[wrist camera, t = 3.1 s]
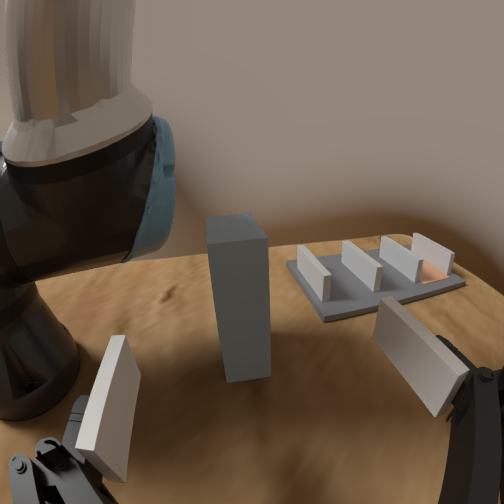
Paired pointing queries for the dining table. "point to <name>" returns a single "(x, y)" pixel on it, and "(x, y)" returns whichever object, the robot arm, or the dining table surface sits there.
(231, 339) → the tall grey pillar
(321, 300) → the rack
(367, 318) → the dining table surface
